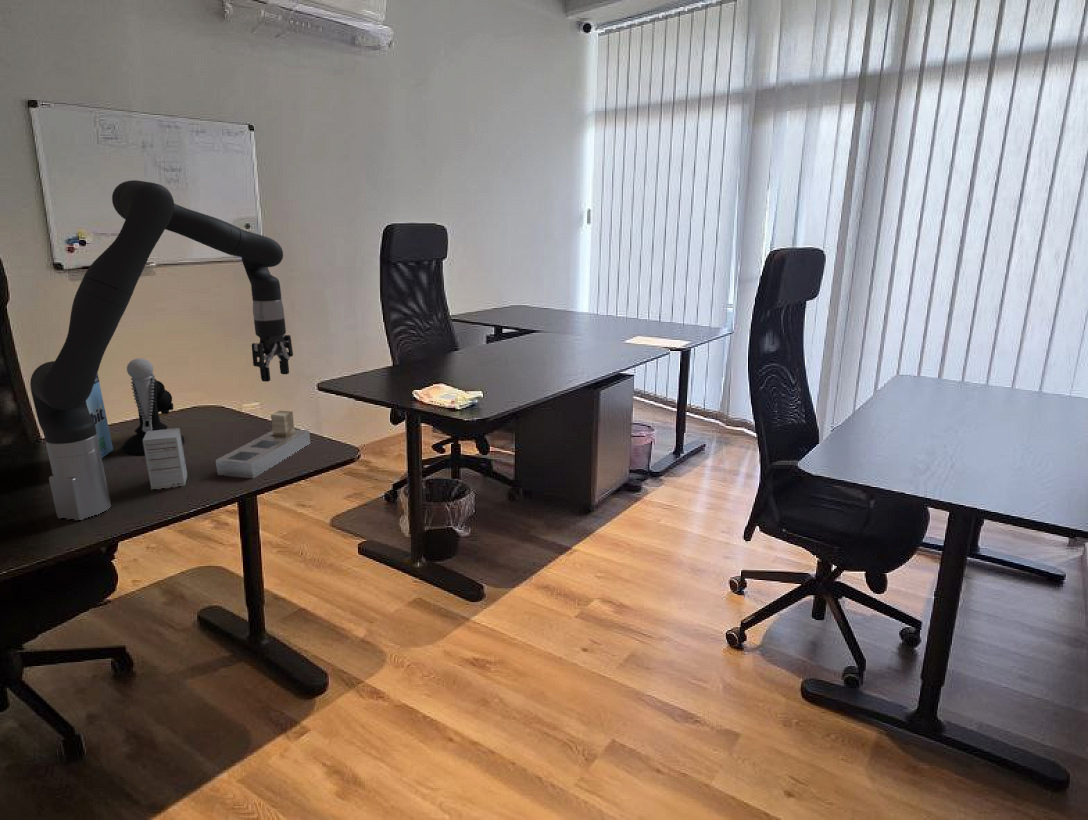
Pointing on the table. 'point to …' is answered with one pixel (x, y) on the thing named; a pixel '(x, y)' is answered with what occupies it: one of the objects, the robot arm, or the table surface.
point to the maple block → (283, 424)
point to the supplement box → (165, 458)
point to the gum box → (99, 418)
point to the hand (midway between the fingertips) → (275, 377)
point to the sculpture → (146, 403)
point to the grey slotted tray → (261, 454)
